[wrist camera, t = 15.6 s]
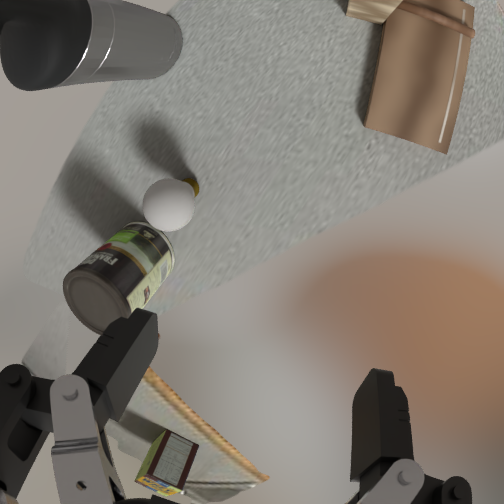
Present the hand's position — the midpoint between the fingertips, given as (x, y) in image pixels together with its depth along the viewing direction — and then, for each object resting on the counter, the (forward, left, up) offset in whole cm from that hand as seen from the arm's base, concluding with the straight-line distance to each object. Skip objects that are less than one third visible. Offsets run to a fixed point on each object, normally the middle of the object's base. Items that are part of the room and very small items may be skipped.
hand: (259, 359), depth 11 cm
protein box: (-17, -82, -30) cm, 89 cm away
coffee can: (-21, -18, -30) cm, 41 cm away
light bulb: (-14, -6, -30) cm, 33 cm away
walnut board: (+10, +16, -30) cm, 35 cm away
